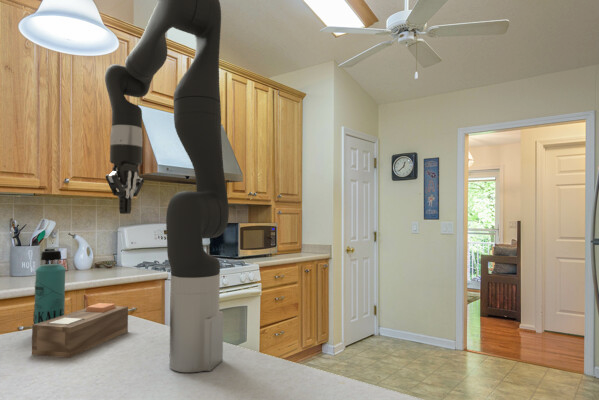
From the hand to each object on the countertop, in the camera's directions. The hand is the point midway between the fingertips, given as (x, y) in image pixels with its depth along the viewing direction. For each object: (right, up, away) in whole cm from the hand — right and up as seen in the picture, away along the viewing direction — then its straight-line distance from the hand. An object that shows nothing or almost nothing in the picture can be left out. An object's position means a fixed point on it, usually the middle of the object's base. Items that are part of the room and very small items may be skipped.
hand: (125, 213), depth 103 cm
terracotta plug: (-4, -27, -5) cm, 28 cm away
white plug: (-6, -27, -16) cm, 32 cm away
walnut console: (-5, -29, -11) cm, 31 cm away
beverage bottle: (-16, -29, -5) cm, 34 cm away
